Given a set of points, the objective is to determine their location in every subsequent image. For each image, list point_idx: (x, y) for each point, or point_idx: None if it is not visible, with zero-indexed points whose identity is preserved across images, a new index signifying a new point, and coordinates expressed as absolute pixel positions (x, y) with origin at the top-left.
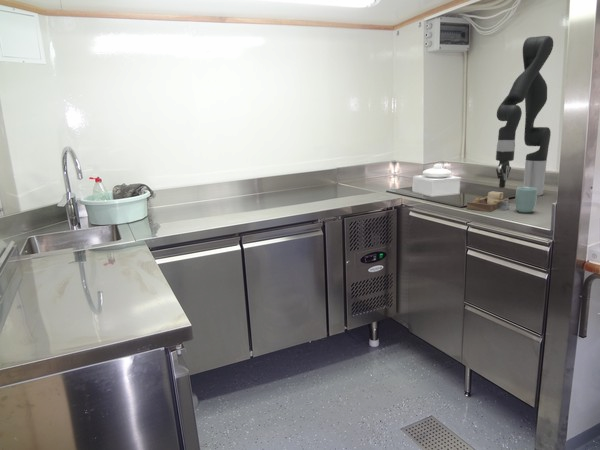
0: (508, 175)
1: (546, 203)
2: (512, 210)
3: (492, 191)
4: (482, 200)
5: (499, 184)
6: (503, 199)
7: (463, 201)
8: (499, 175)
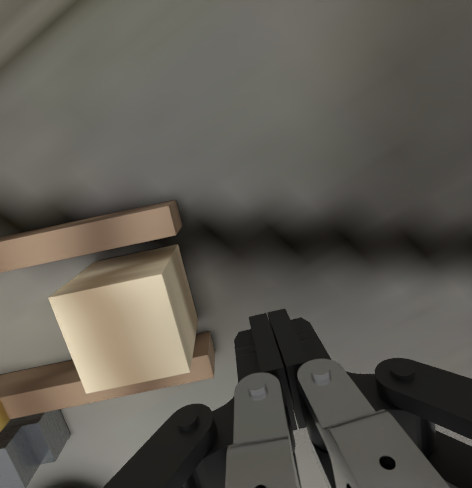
0: (460, 454)
1: None
2: (54, 464)
3: (158, 280)
4: (16, 267)
5: (252, 333)
6: None
7: (16, 58)
8: (192, 469)
